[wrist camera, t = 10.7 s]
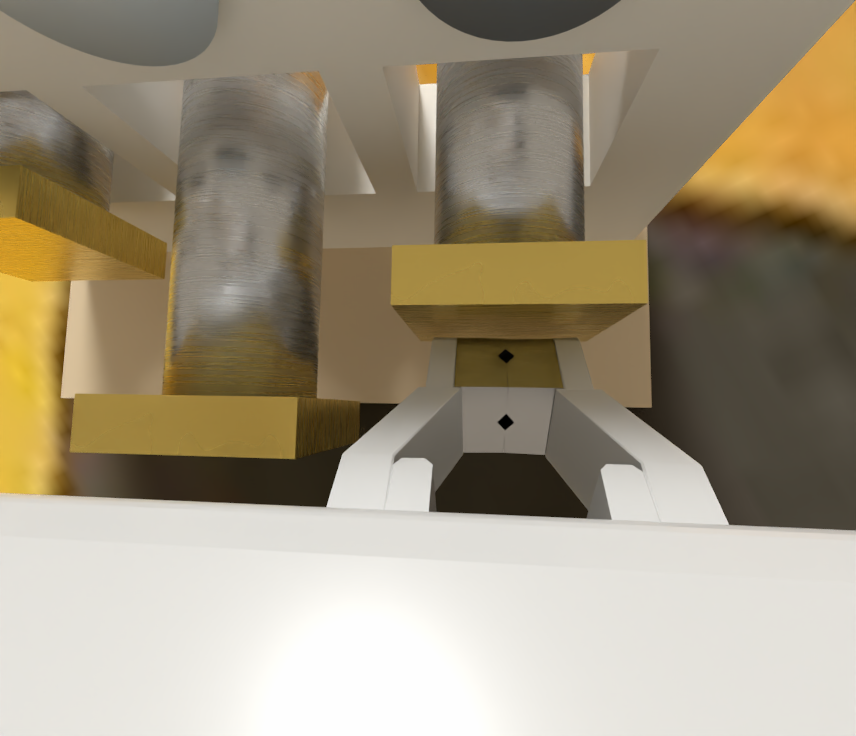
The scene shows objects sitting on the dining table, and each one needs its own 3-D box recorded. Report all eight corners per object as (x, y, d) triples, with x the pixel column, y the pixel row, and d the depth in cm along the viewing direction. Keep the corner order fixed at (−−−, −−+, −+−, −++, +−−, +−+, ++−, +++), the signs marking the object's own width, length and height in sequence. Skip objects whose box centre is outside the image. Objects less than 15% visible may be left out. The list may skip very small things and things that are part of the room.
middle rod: (359, 441, 11) (294, 459, 7) (207, 437, 12) (69, 452, 8) (371, 47, 12) (320, -127, 8) (230, 57, 13) (117, -104, 9)
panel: (642, 407, 15) (2143, 394, 2) (79, 398, 18) (-1368, 358, 4) (635, 101, 16) (1512, -1601, 2) (102, 130, 19) (-984, -678, 5)
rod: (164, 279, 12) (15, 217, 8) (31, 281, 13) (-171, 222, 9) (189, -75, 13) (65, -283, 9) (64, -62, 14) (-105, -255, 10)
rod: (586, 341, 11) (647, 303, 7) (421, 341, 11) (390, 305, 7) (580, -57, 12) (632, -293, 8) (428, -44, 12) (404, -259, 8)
